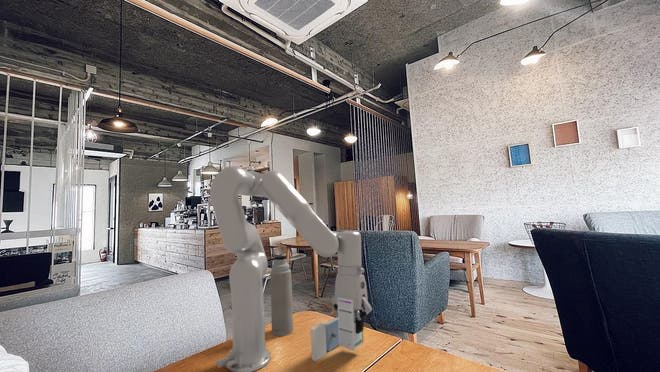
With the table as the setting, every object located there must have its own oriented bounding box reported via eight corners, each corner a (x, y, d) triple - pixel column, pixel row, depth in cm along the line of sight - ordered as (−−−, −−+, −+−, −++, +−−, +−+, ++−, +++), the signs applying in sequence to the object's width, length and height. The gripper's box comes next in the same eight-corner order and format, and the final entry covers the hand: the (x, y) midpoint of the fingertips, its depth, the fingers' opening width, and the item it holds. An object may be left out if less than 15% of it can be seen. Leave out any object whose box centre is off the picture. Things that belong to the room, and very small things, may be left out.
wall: (315, 361, 81) (314, 329, 82) (311, 359, 82) (310, 328, 83) (358, 332, 99) (357, 306, 100) (354, 331, 100) (353, 306, 101)
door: (331, 352, 85) (330, 323, 86) (325, 350, 87) (324, 321, 88) (355, 336, 96) (353, 310, 96) (349, 334, 97) (348, 309, 98)
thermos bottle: (267, 333, 102) (265, 257, 105) (282, 325, 109) (280, 254, 112) (282, 338, 98) (279, 258, 101) (297, 329, 104) (294, 255, 107)
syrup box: (354, 350, 81) (353, 300, 82) (337, 345, 84) (337, 296, 86) (363, 343, 85) (362, 295, 87) (348, 338, 89) (347, 292, 90)
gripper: (379, 271, 85) (381, 332, 83) (335, 265, 95) (336, 319, 94) (366, 276, 79) (368, 341, 77) (321, 268, 90) (322, 326, 88)
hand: (350, 328), depth 85 cm, fingers closed on syrup box, 5 cm apart
